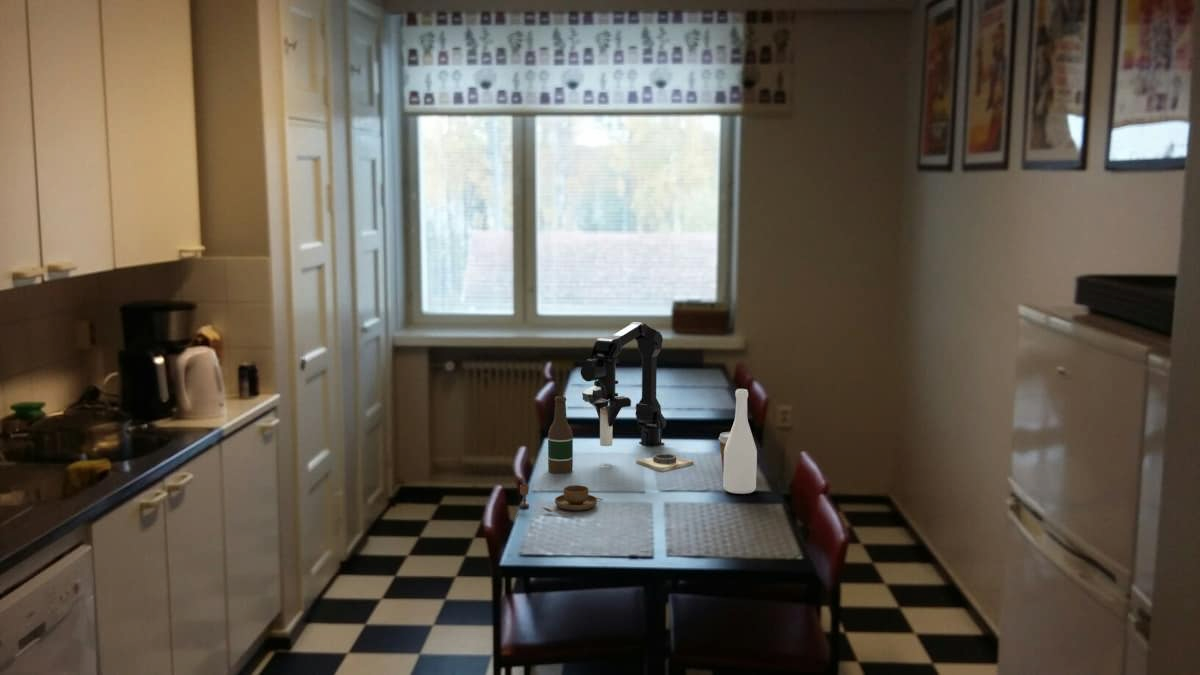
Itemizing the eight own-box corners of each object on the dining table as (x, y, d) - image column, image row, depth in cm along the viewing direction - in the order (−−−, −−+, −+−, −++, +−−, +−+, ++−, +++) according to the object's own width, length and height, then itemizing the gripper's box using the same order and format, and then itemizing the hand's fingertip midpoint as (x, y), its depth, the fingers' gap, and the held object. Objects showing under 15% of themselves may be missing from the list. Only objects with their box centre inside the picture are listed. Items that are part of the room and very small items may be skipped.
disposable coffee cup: (712, 470, 319) (712, 433, 318) (737, 467, 323) (738, 430, 322) (728, 477, 311) (728, 439, 309) (754, 474, 315) (755, 436, 313)
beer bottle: (574, 469, 320) (574, 394, 317) (571, 475, 312) (571, 399, 309) (549, 468, 320) (549, 394, 318) (546, 474, 313) (546, 398, 310)
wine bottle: (724, 494, 292) (727, 392, 288) (721, 485, 302) (724, 386, 298) (757, 494, 292) (760, 392, 288) (753, 485, 301) (756, 387, 298)
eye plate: (668, 458, 334) (669, 449, 334) (693, 466, 324) (693, 456, 324) (636, 464, 326) (636, 455, 325) (660, 472, 316) (660, 463, 316)
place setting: (580, 516, 272) (580, 495, 271) (516, 507, 280) (516, 486, 280) (608, 500, 287) (608, 480, 287) (546, 491, 296) (546, 472, 295)
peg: (597, 444, 327) (597, 408, 325) (607, 442, 329) (607, 406, 328) (605, 446, 323) (605, 410, 322) (614, 445, 326) (615, 408, 324)
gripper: (569, 375, 326) (569, 423, 328) (604, 383, 311) (604, 433, 313) (596, 372, 333) (596, 419, 335) (632, 380, 318) (631, 428, 320)
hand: (606, 425), depth 325 cm, fingers closed on peg, 4 cm apart
